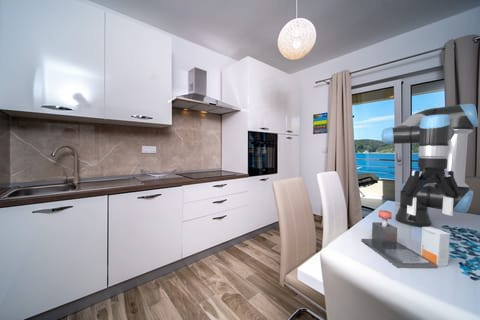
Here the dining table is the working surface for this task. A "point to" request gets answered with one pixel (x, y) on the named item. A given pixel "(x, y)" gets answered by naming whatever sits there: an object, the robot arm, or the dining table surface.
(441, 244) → the skincare box
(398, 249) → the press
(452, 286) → the dining table surface
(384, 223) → the plunger
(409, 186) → the robot arm
